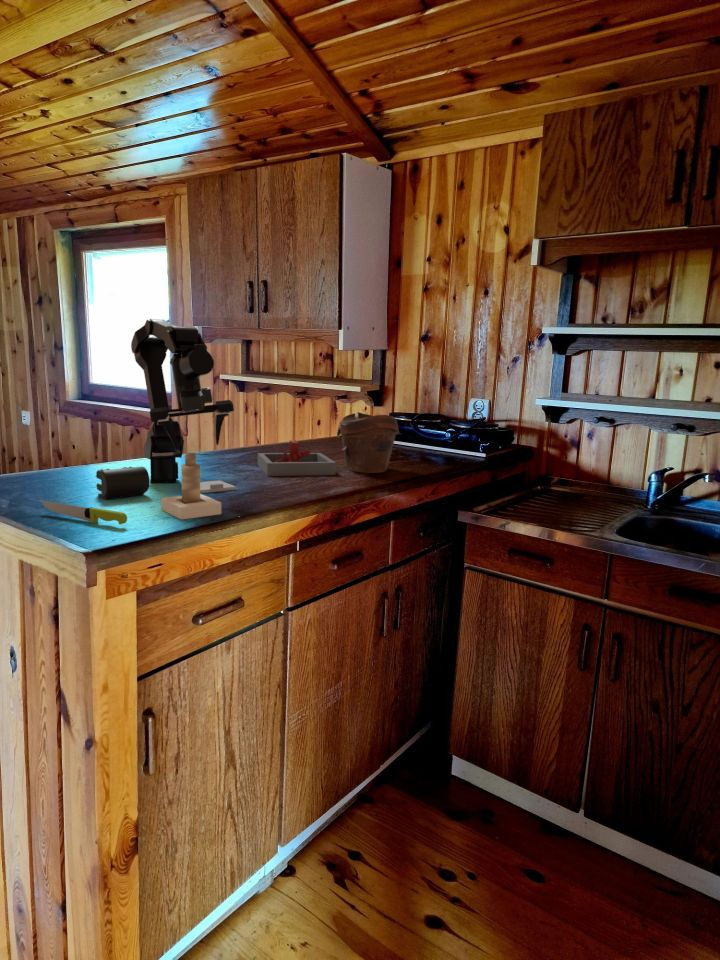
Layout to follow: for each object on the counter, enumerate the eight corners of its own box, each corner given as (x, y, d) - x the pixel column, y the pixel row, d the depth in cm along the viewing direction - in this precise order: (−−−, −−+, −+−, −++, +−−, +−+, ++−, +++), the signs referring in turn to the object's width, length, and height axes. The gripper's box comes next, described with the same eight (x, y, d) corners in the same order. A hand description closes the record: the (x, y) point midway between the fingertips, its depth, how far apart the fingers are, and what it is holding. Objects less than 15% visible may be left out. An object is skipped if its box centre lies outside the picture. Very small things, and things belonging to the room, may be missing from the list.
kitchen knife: (38, 514, 127) (37, 499, 126) (43, 513, 128) (42, 498, 127) (123, 529, 118) (122, 514, 118) (128, 528, 119) (127, 513, 119)
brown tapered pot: (350, 461, 207) (352, 407, 203) (406, 468, 198) (409, 412, 195) (323, 470, 191) (325, 411, 187) (383, 478, 183) (386, 416, 179)
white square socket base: (161, 509, 134) (161, 498, 134) (200, 504, 140) (200, 493, 139) (180, 519, 127) (180, 507, 126) (221, 514, 132) (221, 502, 132)
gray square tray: (267, 475, 177) (267, 463, 176) (257, 464, 195) (257, 453, 194) (335, 474, 183) (336, 462, 182) (320, 464, 201) (320, 452, 200)
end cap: (107, 502, 139) (106, 472, 138) (95, 496, 144) (93, 467, 143) (150, 497, 146) (149, 468, 144) (137, 491, 151) (136, 464, 149)
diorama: (280, 463, 195) (280, 436, 194) (315, 467, 191) (316, 439, 190) (263, 468, 185) (263, 440, 184) (299, 472, 181) (300, 443, 180)
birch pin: (182, 514, 131) (181, 455, 129) (181, 509, 134) (180, 452, 132) (200, 513, 132) (200, 454, 130) (199, 509, 136) (199, 452, 133)
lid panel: (183, 487, 158) (182, 480, 157) (219, 483, 164) (219, 476, 164) (198, 493, 151) (198, 486, 150) (236, 489, 157) (236, 482, 157)
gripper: (145, 381, 135) (156, 453, 136) (231, 372, 141) (242, 441, 142) (145, 386, 146) (156, 453, 147) (225, 378, 151) (235, 442, 153)
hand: (197, 447), depth 147 cm, fingers open, 9 cm apart
